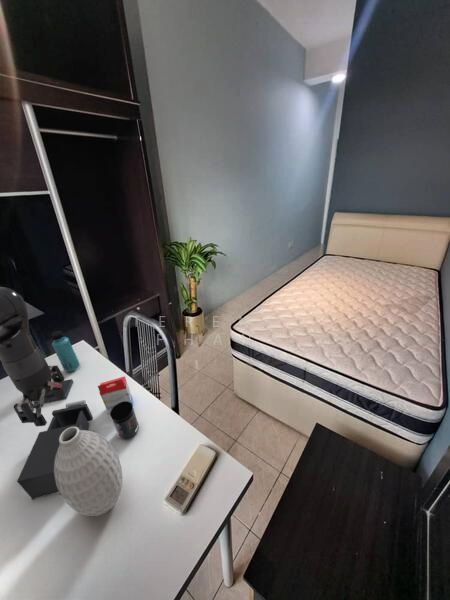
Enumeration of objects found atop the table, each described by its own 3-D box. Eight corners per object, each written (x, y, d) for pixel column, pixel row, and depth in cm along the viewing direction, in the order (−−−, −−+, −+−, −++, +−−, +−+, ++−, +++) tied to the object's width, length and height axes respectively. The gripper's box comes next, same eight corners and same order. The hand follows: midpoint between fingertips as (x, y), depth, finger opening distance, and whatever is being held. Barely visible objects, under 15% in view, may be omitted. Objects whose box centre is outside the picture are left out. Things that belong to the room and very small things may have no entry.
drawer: (65, 414, 89) (57, 400, 85) (95, 407, 90) (89, 393, 87) (46, 461, 74) (36, 447, 71) (83, 452, 76) (75, 438, 72)
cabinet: (51, 450, 78) (39, 432, 74) (90, 440, 80) (81, 422, 76) (32, 499, 66) (16, 481, 62) (78, 486, 68) (66, 468, 64)
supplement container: (122, 421, 86) (115, 401, 81) (142, 421, 85) (135, 400, 80) (115, 441, 80) (106, 420, 75) (135, 440, 80) (128, 419, 75)
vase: (115, 464, 73) (85, 399, 60) (140, 494, 66) (112, 429, 53) (71, 504, 65) (24, 439, 51) (93, 544, 58) (46, 481, 44)
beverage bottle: (79, 361, 114) (63, 326, 105) (82, 369, 110) (66, 333, 100) (63, 368, 111) (45, 332, 101) (66, 376, 106) (48, 339, 97)
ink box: (132, 397, 95) (123, 369, 88) (133, 407, 91) (123, 379, 84) (109, 405, 92) (97, 376, 85) (108, 416, 88) (96, 387, 81)
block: (35, 405, 94) (31, 399, 92) (44, 387, 101) (41, 381, 100) (66, 399, 96) (63, 392, 94) (73, 381, 103) (70, 375, 102)
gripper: (31, 348, 66) (53, 390, 74) (-12, 390, 54) (20, 436, 62) (59, 347, 67) (78, 389, 74) (22, 388, 54) (50, 434, 62)
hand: (52, 410), depth 68 cm, fingers open, 8 cm apart
